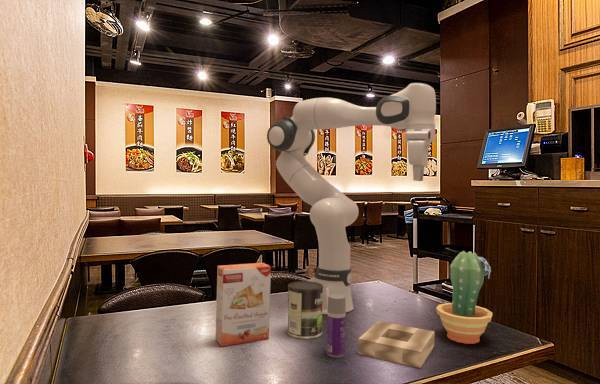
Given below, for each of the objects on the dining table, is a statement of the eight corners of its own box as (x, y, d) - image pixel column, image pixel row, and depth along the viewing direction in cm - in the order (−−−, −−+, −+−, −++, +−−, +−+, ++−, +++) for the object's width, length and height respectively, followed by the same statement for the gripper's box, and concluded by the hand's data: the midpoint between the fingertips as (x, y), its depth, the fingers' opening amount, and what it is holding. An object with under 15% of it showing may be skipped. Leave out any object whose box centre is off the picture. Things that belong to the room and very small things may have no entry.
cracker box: (221, 348, 110) (222, 269, 109) (215, 340, 115) (216, 265, 114) (270, 339, 116) (271, 265, 116) (262, 332, 121) (263, 261, 121)
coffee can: (325, 328, 125) (326, 282, 125) (317, 341, 115) (318, 291, 115) (293, 324, 128) (294, 279, 128) (282, 336, 118) (283, 287, 118)
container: (343, 358, 104) (345, 299, 104) (325, 356, 105) (326, 298, 105) (345, 351, 109) (346, 294, 109) (327, 349, 110) (329, 293, 110)
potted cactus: (481, 353, 109) (483, 258, 109) (426, 337, 120) (428, 251, 119) (500, 337, 121) (502, 252, 120) (448, 324, 131) (450, 246, 131)
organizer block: (358, 353, 107) (358, 338, 107) (377, 334, 121) (378, 321, 121) (420, 368, 100) (421, 351, 100) (434, 346, 114) (434, 331, 114)
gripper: (413, 139, 139) (411, 180, 139) (404, 132, 120) (403, 180, 120) (433, 139, 136) (431, 181, 137) (427, 132, 118) (425, 180, 118)
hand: (418, 180), depth 128 cm, fingers open, 8 cm apart
